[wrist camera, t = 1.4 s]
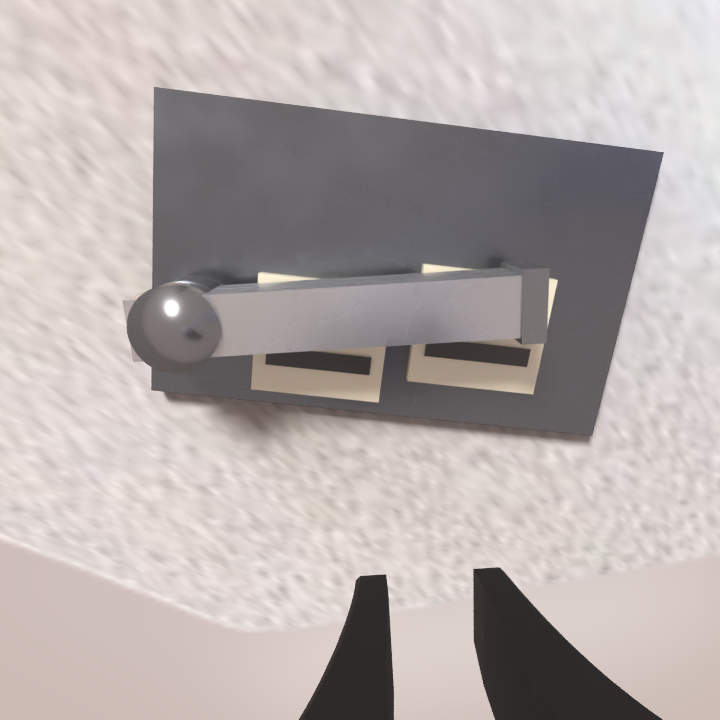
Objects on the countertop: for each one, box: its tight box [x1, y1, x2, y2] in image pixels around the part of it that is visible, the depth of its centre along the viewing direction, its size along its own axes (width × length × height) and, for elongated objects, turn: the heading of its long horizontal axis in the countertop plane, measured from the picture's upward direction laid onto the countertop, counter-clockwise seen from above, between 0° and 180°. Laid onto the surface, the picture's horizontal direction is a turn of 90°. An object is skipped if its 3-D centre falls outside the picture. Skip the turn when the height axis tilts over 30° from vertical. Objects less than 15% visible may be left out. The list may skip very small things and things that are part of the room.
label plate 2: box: [406, 264, 558, 394], centre depth 20 cm, size 5×4×1 cm
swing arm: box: [123, 261, 550, 374], centre depth 18 cm, size 13×3×3 cm, turn 93°
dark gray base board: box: [151, 87, 664, 435], centre depth 20 cm, size 18×11×1 cm, turn 83°
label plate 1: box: [251, 272, 386, 403], centre depth 20 cm, size 5×4×1 cm
